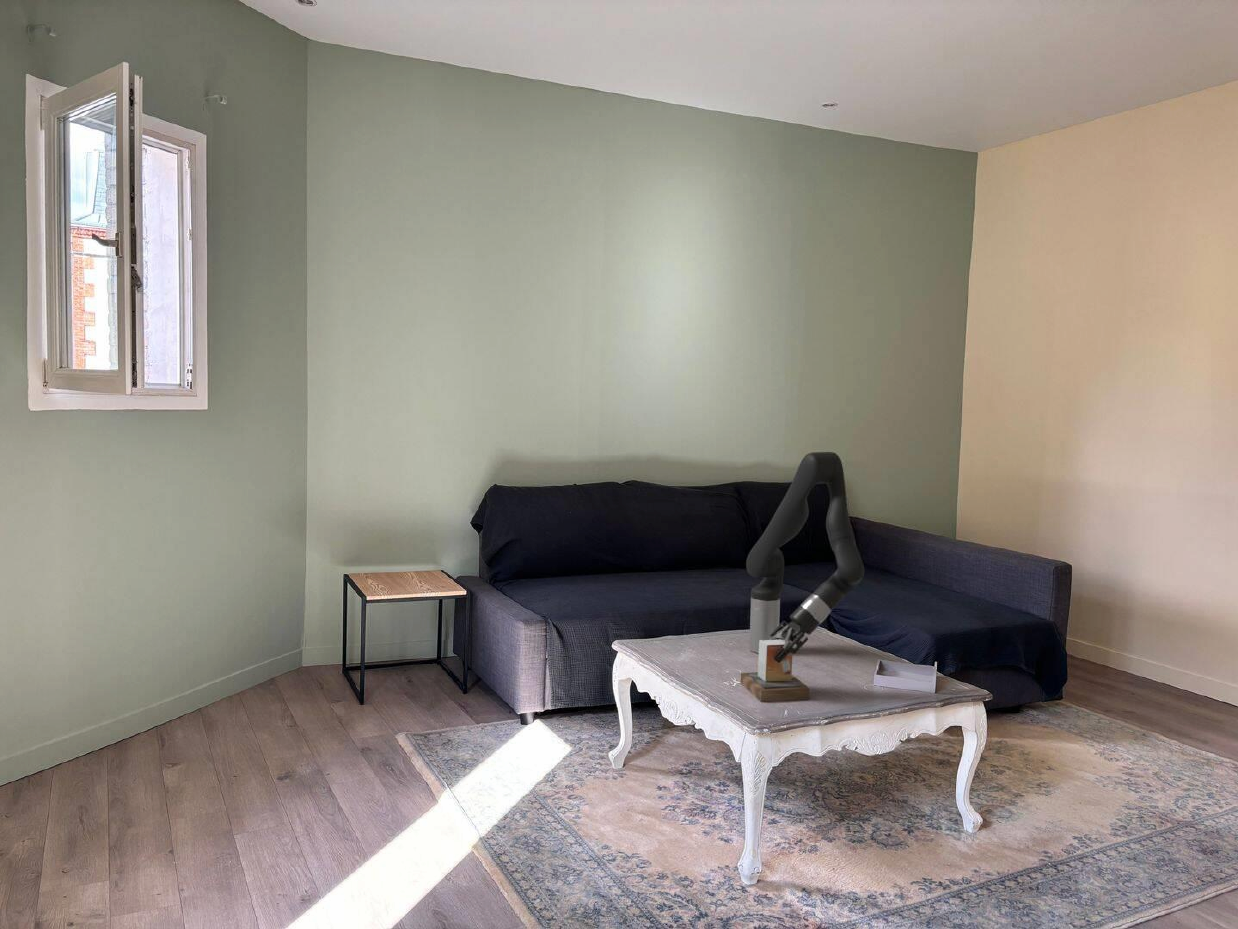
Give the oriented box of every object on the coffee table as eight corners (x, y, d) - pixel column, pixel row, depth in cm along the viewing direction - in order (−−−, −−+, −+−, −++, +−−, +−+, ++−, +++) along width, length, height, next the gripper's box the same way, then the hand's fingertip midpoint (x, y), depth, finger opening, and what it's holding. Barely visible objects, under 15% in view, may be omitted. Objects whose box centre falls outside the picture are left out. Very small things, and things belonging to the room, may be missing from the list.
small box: (765, 682, 259) (766, 645, 258) (757, 676, 265) (758, 639, 264) (792, 681, 261) (793, 643, 260) (783, 674, 267) (785, 638, 266)
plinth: (740, 683, 269) (740, 671, 269) (786, 681, 272) (786, 669, 272) (760, 701, 254) (761, 689, 253) (809, 699, 257) (809, 686, 256)
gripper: (792, 599, 269) (752, 640, 268) (812, 611, 256) (771, 654, 254) (808, 616, 271) (769, 658, 270) (830, 629, 257) (789, 673, 256)
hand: (770, 656), depth 262 cm, fingers open, 7 cm apart
